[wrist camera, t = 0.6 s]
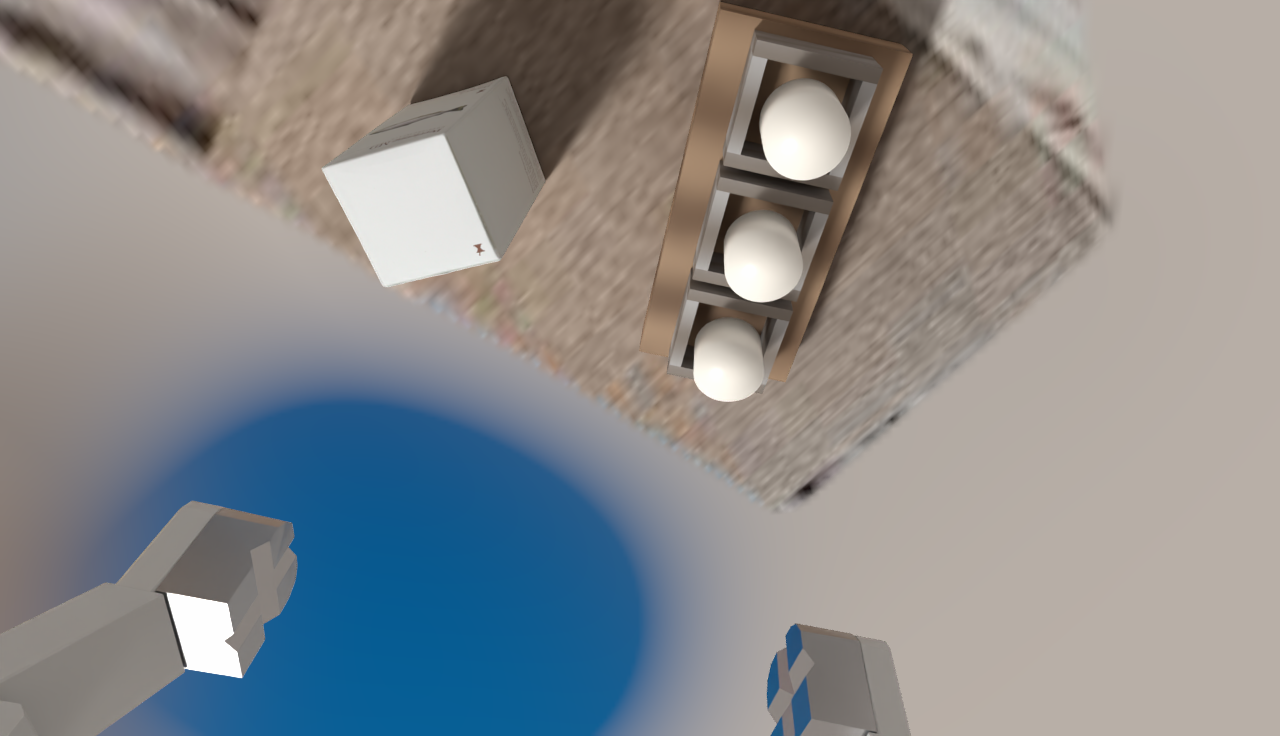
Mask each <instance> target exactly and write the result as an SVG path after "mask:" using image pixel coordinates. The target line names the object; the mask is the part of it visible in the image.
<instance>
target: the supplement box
mask: <svg viewBox="0 0 1280 736" xmlns="http://www.w3.org/2000/svg"><path fill="white" fill-rule="evenodd" d="M322 171H323V172H324V174H325V176H326V178H327V180H328V182H329V184H330V186H331V188H332V189H333V191H334V193H335V195H336V197H337V199H338V201H339V203H340V204H341V206H342V208H343V210H344V212H345V214H346V216H347V218H348V219H349V221H350V223H351V225H352V227H353V229H354V231H355V233H356V234H357V236H358V238H359V240H360V242H361V244H362V246H363V248H364V250H365V252H366V254H367V256H368V258H369V260H370V262H371V264H372V266H373V268H374V270H375V272H376V274H377V276H378V278H379V280H380V282H381V284H382V285H383V286H384V287H391V286H394V285H399V284H403V283H407V282H411V281H415V280H420V279H424V278H428V277H432V276H437V275H442V274H447V273H450V272H453V271H457V270H462V269H466V268H470V267H474V266H479V265H483V264H487V263H491V262H497V261H500V260H501V259H502V257H503V255H504V254H505V252H506V250H507V248H508V246H509V245H510V243H511V241H512V239H513V238H514V236H515V234H516V232H517V231H518V229H519V227H520V225H521V224H522V222H523V220H524V218H525V217H526V215H527V213H528V211H529V210H530V208H531V206H532V204H533V203H534V201H535V199H536V197H537V196H538V194H539V192H540V190H541V189H542V187H543V185H544V183H545V178H544V175H543V172H542V170H541V167H540V164H539V161H538V158H537V156H536V153H535V150H534V147H533V144H532V142H531V139H530V136H529V134H528V131H527V128H526V125H525V122H524V120H523V117H522V114H521V111H520V109H519V106H518V103H517V101H516V98H515V95H514V92H513V90H512V87H511V84H510V82H509V79H508V77H506V76H504V77H501V78H498V79H496V80H493V81H490V82H487V83H484V84H481V85H478V86H475V87H472V88H469V89H465V90H462V91H459V92H455V93H452V94H448V95H445V96H441V97H438V98H434V99H430V100H426V101H422V102H418V103H414V104H410V105H408V106H406V107H405V108H403V109H402V110H401V111H399V112H398V113H396V114H395V115H393V116H392V117H391V118H389V119H388V120H386V121H385V122H384V123H382V124H381V125H379V126H378V127H377V128H375V129H374V130H372V131H371V132H370V133H368V134H367V135H366V136H364V137H363V138H362V139H360V140H359V141H358V142H356V143H355V144H354V145H352V146H351V147H350V148H348V149H347V150H346V151H344V152H343V153H341V154H340V155H339V156H337V157H336V158H335V159H333V160H332V161H331V162H329V163H328V164H326V165H325V166H323V167H322Z"/></svg>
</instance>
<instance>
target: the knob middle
mask: <svg viewBox="0 0 1280 736" xmlns="http://www.w3.org/2000/svg"><path fill="white" fill-rule="evenodd" d="M724 270H725V277H726V280H727V282H728V284H729V286H730V287H731V289H732V290H733V291H734V292H735V293H736V294H738V295H739V296H741V297H742V298H744V299H747V300H750V301H754V302H769V301H774V300H777V299H779V298H781V297H783V296H785V295H787V294H788V293H789V292H790V291H791V290H792V289H794V287H795V286H796V285H797V283H798V282H799V280H800V277H801V275H802V271H803V260H802V255H801V251H800V247H799V242H798V238H797V234H796V231H795V229H794V227H793V225H792V224H791V222H790V221H789V220H788V219H787V218H785V217H784V216H783V215H781V214H779V213H777V212H774V211H769V210H756V211H751V212H748V213H746V214H744V215H742V216H740V217H739V218H738V219H736V220H735V221H734V222H733V223H732V224H731V226H730V227H729V229H728V231H727V232H726V235H725V239H724Z"/></svg>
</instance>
